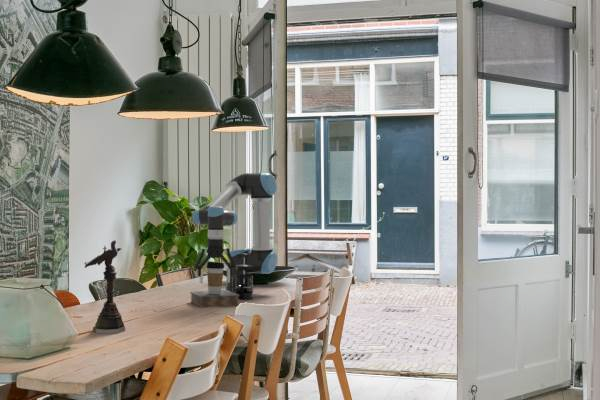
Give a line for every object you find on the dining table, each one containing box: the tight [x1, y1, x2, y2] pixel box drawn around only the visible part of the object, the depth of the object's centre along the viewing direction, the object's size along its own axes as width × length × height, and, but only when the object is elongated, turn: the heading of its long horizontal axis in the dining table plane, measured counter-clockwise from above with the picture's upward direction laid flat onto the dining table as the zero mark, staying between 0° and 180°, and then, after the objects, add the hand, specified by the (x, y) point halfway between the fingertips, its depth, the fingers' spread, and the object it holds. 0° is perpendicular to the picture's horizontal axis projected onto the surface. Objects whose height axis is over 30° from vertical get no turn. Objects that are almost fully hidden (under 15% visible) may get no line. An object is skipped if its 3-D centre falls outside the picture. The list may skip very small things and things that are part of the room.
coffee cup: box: [206, 261, 225, 294], centre depth 349 cm, size 8×8×15 cm
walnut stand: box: [189, 289, 240, 308], centre depth 349 cm, size 19×19×5 cm
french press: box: [231, 253, 254, 301], centre depth 368 cm, size 12×9×23 cm
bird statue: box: [84, 240, 126, 335], centre depth 275 cm, size 17×13×35 cm
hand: (214, 282), depth 349 cm, fingers open, 13 cm apart
